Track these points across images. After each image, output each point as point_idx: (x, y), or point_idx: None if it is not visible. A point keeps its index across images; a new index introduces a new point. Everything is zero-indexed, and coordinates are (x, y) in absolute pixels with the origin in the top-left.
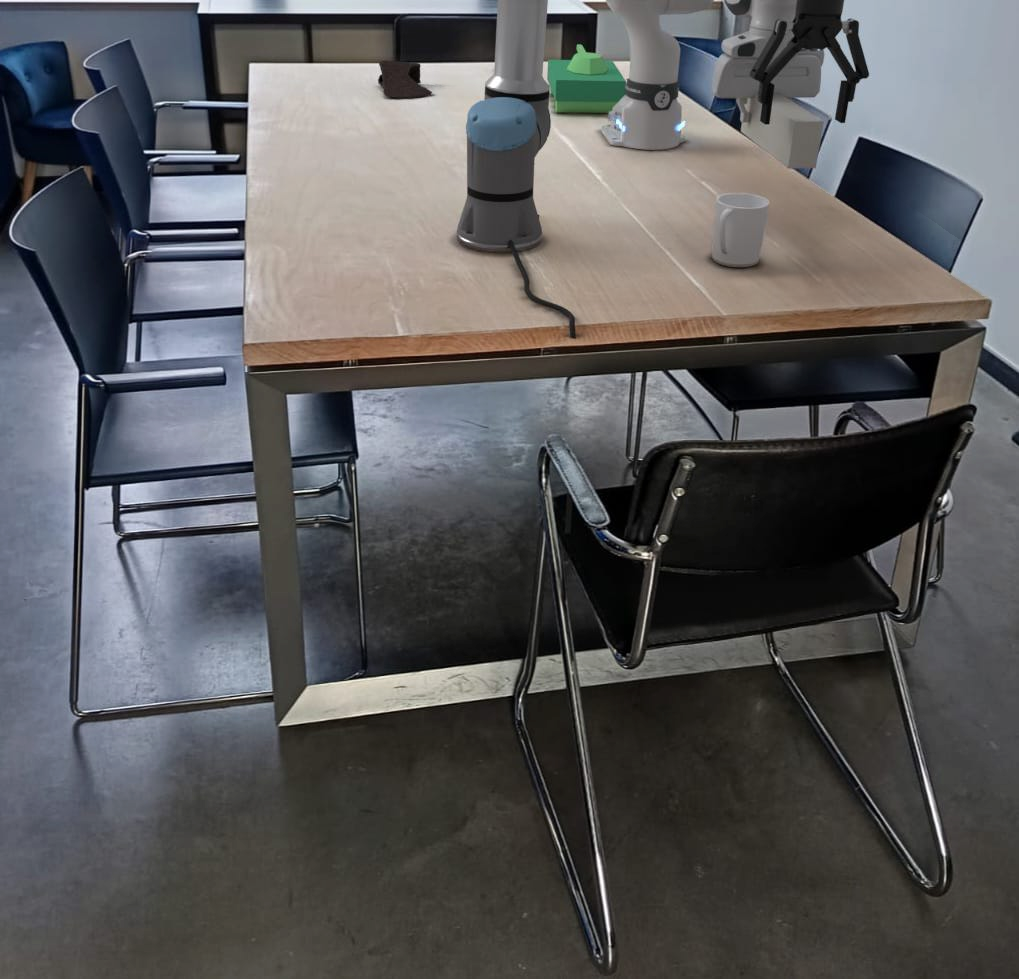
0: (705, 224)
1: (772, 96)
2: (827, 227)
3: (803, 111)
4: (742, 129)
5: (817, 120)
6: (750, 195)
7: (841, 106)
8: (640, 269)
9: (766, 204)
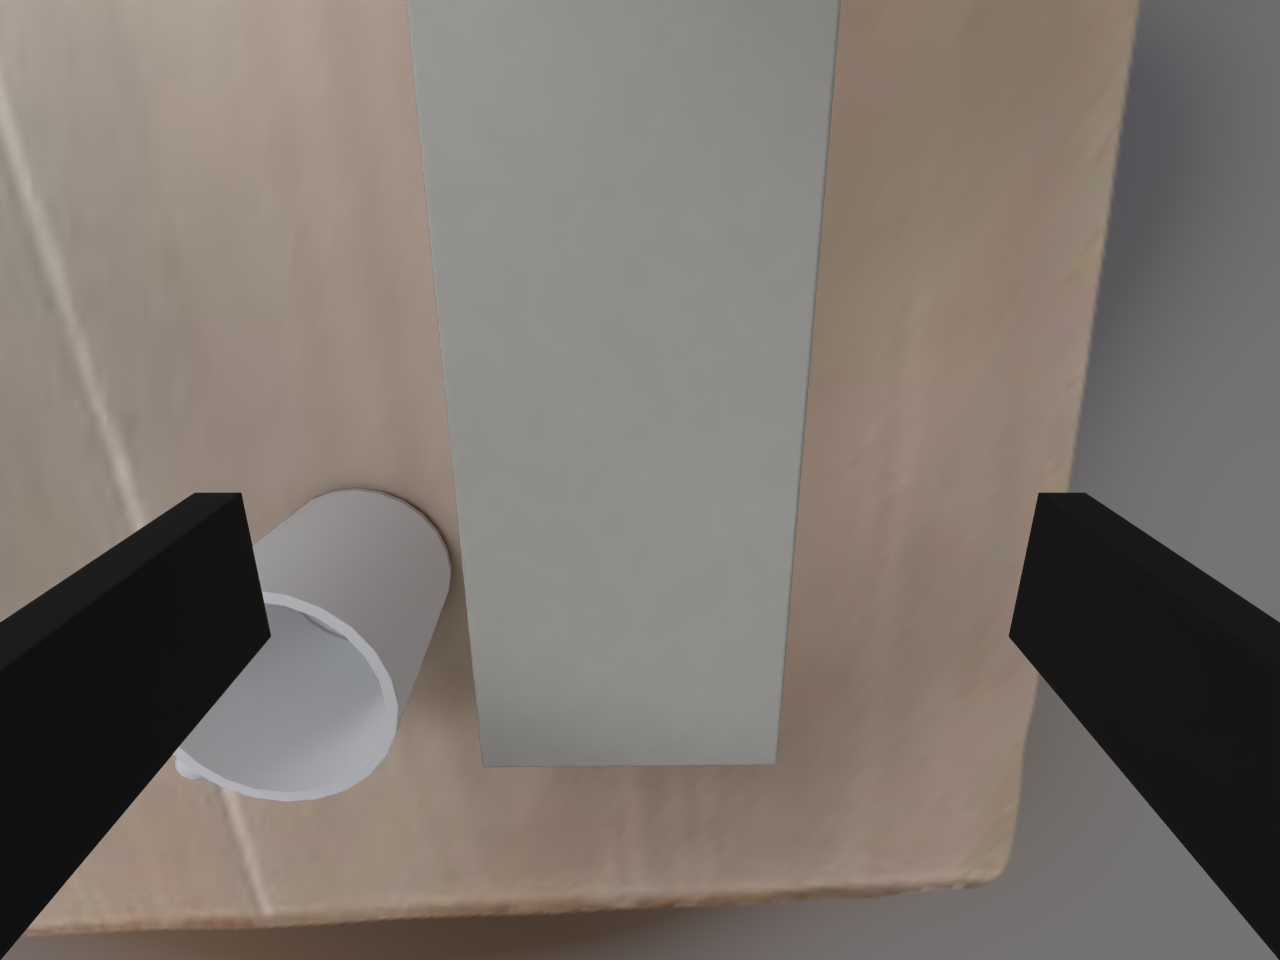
0: (319, 98)
1: (76, 860)
2: (898, 197)
3: (745, 360)
4: None
5: (725, 740)
6: (326, 620)
7: (1106, 688)
8: None
9: (373, 757)
